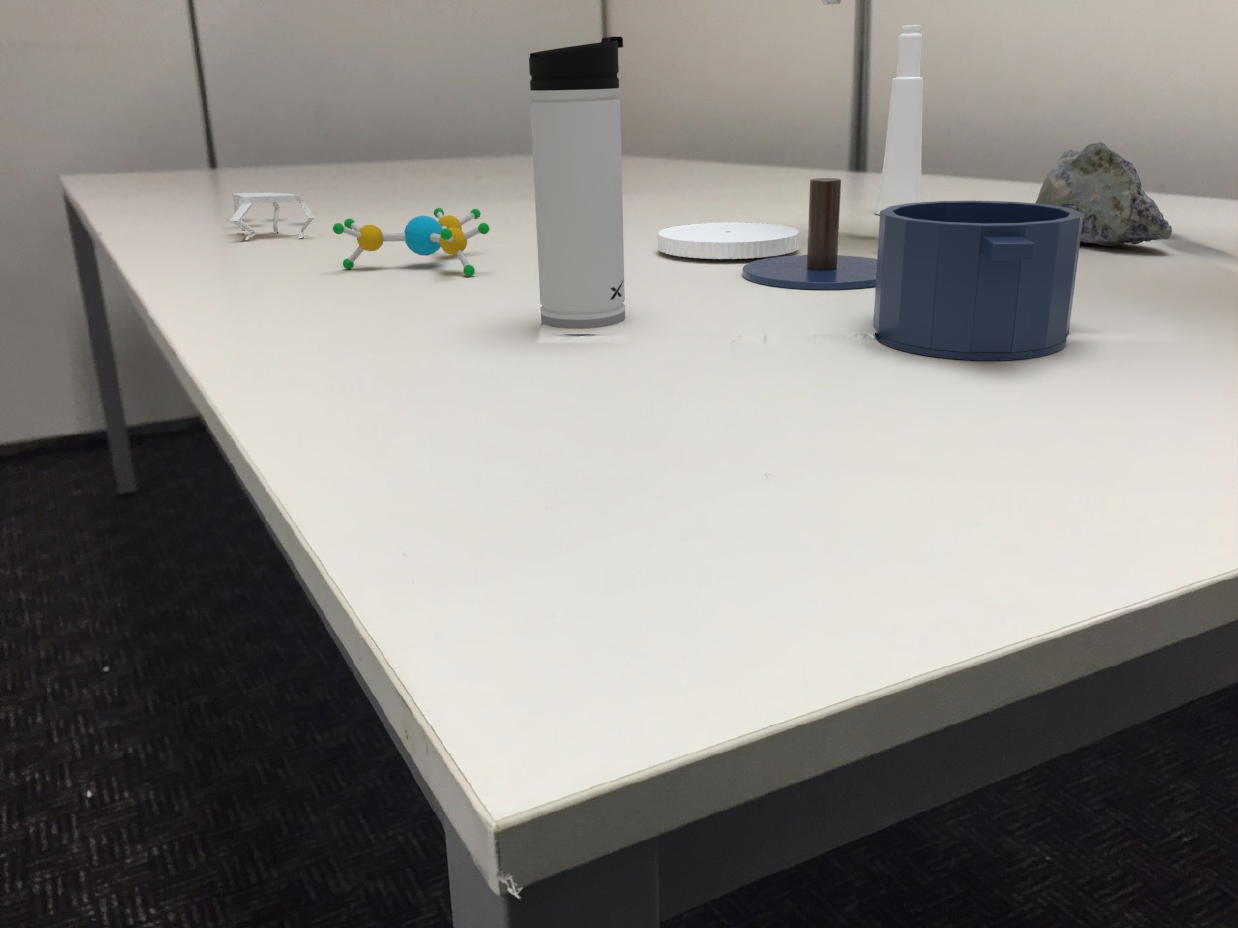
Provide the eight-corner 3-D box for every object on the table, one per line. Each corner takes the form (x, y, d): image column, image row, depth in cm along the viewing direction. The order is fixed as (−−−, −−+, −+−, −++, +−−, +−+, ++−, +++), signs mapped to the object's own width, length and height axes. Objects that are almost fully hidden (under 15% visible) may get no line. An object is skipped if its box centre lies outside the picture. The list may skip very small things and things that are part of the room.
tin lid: (888, 267, 100) (895, 171, 97) (915, 296, 87) (923, 186, 84) (740, 268, 101) (741, 173, 98) (744, 297, 88) (746, 189, 85)
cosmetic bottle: (934, 213, 134) (948, 24, 126) (898, 218, 131) (910, 24, 124) (899, 209, 139) (911, 26, 131) (864, 213, 136) (874, 26, 128)
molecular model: (322, 268, 106) (395, 289, 95) (316, 218, 105) (389, 233, 94) (463, 249, 116) (544, 265, 105) (460, 203, 114) (542, 214, 103)
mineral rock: (1174, 255, 102) (1192, 146, 99) (1059, 256, 103) (1072, 148, 99) (1124, 235, 114) (1137, 137, 111) (1021, 237, 115) (1031, 139, 112)
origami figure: (208, 242, 125) (202, 199, 123) (241, 232, 133) (235, 191, 131) (306, 242, 124) (301, 198, 122) (333, 232, 131) (329, 190, 130)
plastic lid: (644, 268, 102) (643, 241, 101) (672, 245, 115) (672, 221, 114) (792, 271, 99) (792, 243, 98) (804, 247, 112) (805, 223, 111)
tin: (1025, 309, 82) (1038, 195, 79) (1107, 371, 65) (1127, 230, 62) (858, 310, 83) (864, 197, 80) (896, 372, 66) (905, 232, 63)
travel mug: (642, 329, 78) (637, 35, 71) (556, 339, 76) (543, 36, 69) (611, 313, 84) (604, 38, 77) (530, 322, 81) (515, 39, 75)
